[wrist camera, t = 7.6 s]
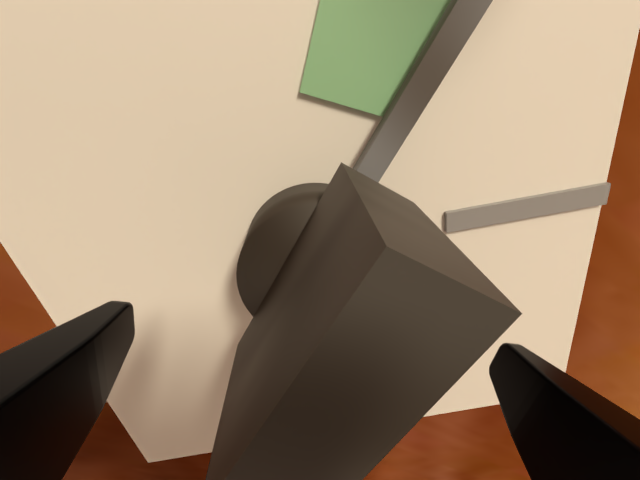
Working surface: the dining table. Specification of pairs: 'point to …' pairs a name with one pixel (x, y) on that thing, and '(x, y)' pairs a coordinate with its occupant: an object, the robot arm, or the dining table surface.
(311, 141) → the dial plate
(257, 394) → the dark grey angled piece
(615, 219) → the dining table surface
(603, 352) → the dining table surface
